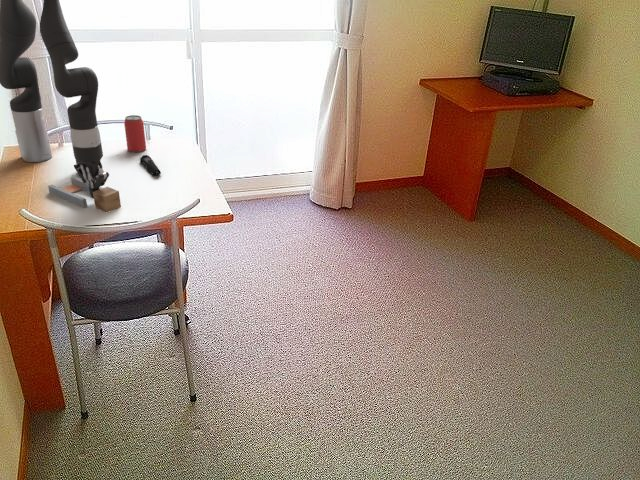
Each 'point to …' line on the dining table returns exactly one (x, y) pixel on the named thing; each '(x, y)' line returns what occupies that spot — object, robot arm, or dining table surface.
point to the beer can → (135, 133)
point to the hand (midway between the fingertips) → (95, 197)
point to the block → (106, 199)
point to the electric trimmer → (150, 165)
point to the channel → (71, 191)
